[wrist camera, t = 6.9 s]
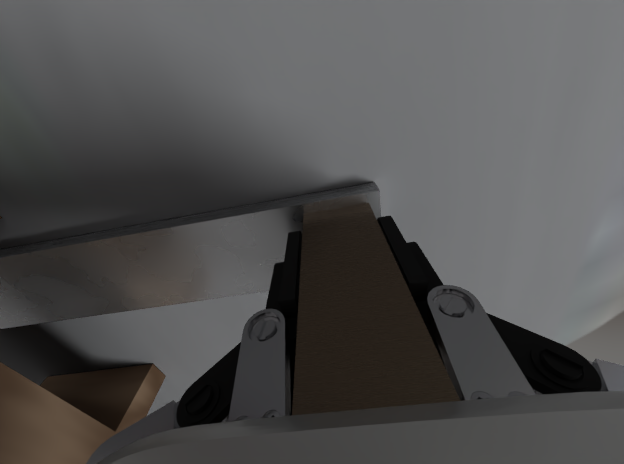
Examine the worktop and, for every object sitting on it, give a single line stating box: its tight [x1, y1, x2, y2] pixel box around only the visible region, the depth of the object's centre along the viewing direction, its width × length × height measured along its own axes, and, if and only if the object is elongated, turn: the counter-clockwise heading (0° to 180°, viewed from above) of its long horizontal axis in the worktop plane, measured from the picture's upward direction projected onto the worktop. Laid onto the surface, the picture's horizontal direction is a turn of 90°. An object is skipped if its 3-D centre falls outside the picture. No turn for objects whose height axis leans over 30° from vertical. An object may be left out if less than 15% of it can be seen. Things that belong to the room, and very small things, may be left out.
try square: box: [0, 182, 460, 416], centre depth 10 cm, size 5×24×10 cm, turn 101°
